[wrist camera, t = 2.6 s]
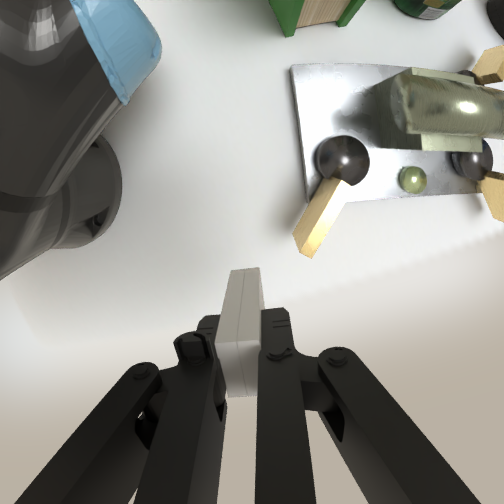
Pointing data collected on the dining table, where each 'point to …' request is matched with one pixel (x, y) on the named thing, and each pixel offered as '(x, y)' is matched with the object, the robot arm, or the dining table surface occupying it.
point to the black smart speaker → (496, 15)
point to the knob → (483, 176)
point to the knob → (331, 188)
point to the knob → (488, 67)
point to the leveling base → (357, 118)
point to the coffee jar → (426, 7)
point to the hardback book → (313, 12)
